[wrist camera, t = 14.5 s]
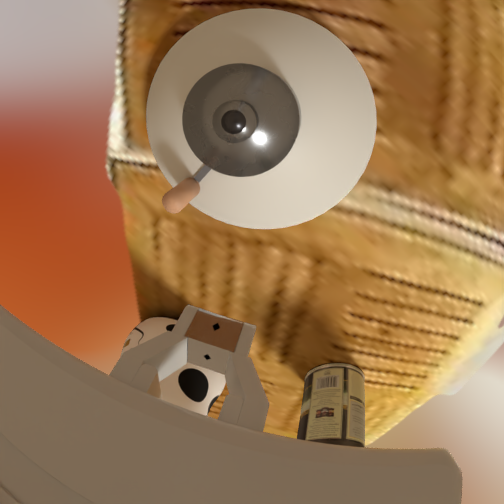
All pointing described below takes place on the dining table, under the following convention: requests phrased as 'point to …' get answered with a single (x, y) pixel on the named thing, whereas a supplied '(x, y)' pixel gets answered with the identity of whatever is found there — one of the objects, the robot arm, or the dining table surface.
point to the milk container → (180, 372)
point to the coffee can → (333, 406)
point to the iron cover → (241, 119)
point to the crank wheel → (311, 131)
